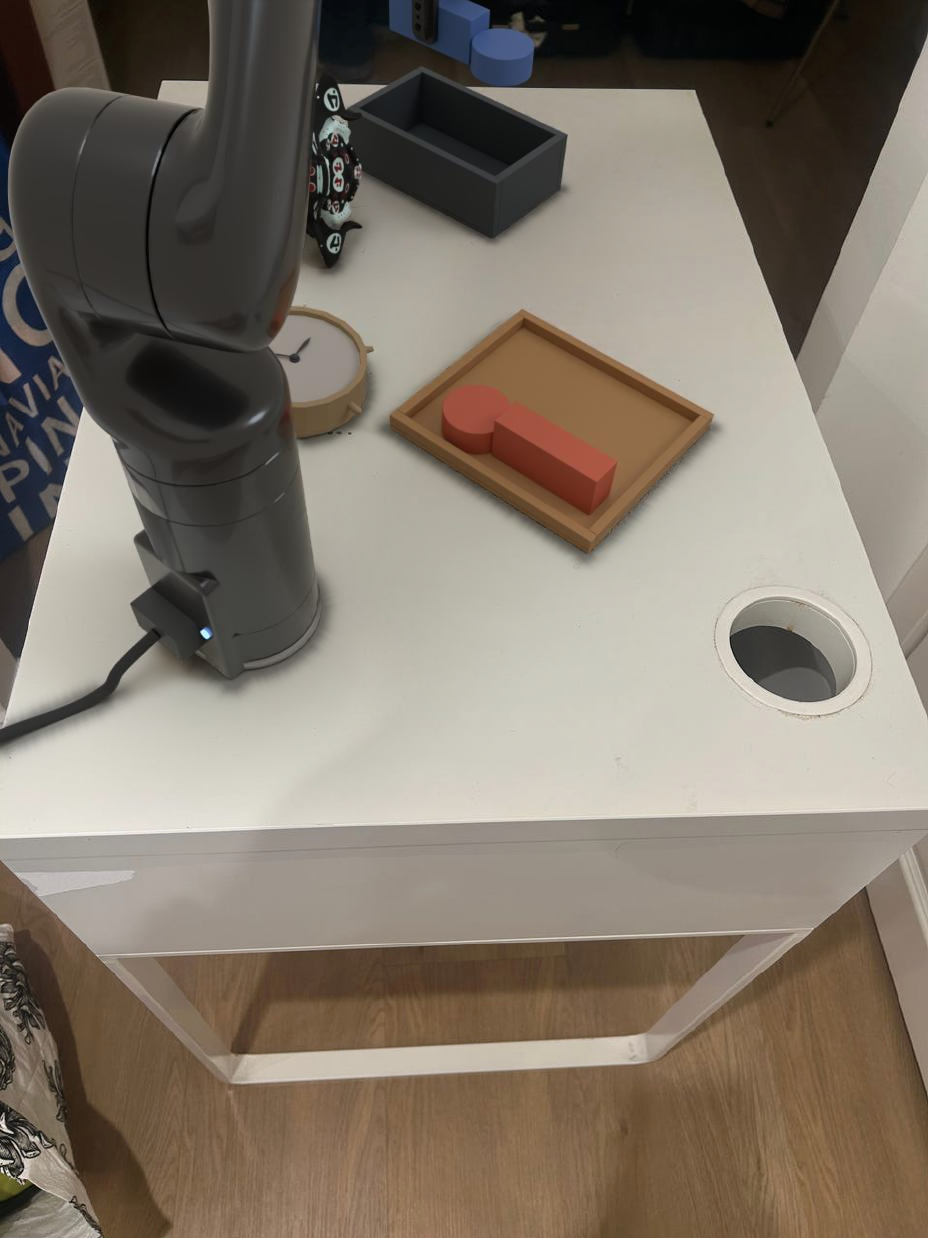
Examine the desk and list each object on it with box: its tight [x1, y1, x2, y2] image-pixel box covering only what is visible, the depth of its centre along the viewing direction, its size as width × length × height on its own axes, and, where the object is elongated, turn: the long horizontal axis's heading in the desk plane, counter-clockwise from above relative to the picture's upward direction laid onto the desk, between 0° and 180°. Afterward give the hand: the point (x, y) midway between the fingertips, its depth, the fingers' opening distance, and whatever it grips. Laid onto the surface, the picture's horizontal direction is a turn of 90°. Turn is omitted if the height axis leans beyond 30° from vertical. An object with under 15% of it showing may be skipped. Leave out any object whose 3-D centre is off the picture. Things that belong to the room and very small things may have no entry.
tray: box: [389, 308, 715, 554], centre depth 75 cm, size 17×19×1 cm
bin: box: [346, 65, 569, 239], centre depth 91 cm, size 11×18×5 cm, turn 51°
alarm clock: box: [268, 305, 375, 438], centre depth 75 cm, size 11×5×15 cm
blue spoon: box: [388, 0, 535, 87], centre depth 83 cm, size 5×14×4 cm, turn 51°
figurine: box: [306, 70, 363, 269], centre depth 83 cm, size 10×15×14 cm
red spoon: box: [442, 385, 617, 515], centre depth 71 cm, size 5×14×4 cm, turn 51°
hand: (437, 33), depth 84 cm, fingers closed on blue spoon, 2 cm apart
